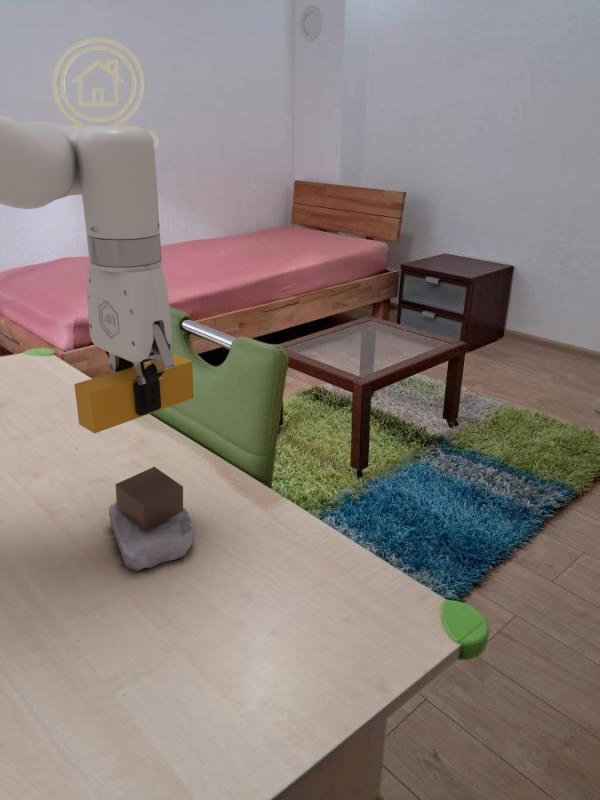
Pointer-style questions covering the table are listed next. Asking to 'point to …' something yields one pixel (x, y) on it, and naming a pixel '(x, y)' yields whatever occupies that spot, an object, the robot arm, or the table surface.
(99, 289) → the robot arm
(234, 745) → the table surface
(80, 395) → the bar
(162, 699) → the table surface
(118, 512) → the stone block
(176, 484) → the walnut block
